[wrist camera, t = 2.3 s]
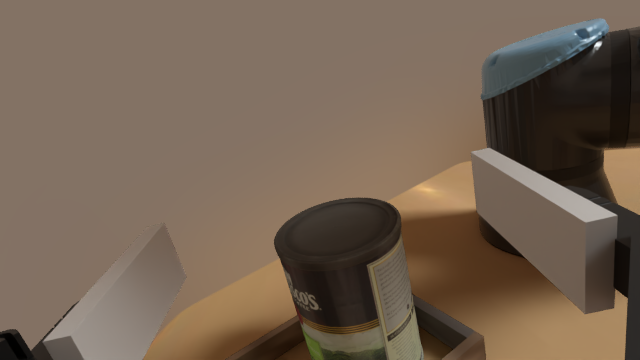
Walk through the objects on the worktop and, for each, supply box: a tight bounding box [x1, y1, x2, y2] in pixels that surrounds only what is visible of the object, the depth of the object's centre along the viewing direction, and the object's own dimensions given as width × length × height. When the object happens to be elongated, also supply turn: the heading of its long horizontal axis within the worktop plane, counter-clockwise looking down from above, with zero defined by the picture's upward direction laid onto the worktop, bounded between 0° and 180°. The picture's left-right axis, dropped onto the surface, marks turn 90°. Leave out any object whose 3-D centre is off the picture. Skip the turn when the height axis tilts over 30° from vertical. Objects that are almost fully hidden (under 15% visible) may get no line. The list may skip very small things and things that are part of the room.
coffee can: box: [274, 198, 424, 360], centre depth 32 cm, size 10×10×14 cm
